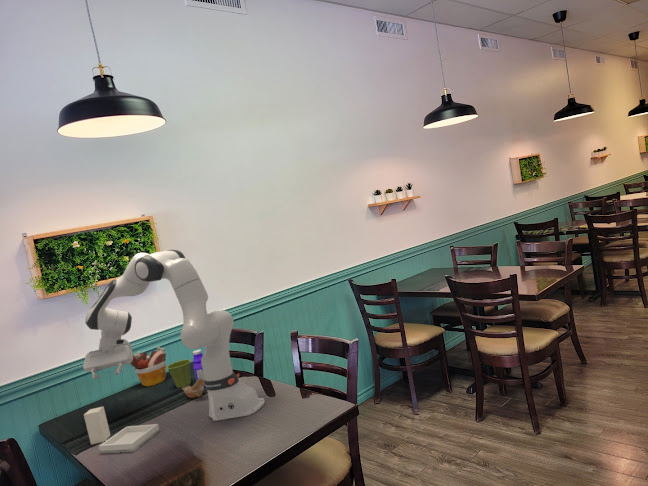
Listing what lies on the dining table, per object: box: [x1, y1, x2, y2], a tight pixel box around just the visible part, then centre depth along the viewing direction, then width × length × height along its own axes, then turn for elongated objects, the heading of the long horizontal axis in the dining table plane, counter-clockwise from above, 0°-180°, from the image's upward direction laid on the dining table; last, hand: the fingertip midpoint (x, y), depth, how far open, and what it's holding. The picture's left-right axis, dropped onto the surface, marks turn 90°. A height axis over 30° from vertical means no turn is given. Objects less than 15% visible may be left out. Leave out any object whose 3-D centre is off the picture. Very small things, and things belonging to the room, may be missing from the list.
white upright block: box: [83, 406, 111, 445], centre depth 191 cm, size 6×6×12 cm
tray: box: [98, 423, 161, 455], centre depth 182 cm, size 15×15×3 cm
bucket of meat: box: [129, 346, 167, 388], centre depth 258 cm, size 20×16×20 cm
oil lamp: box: [181, 378, 205, 399], centre depth 221 cm, size 9×21×10 cm, turn 39°
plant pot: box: [166, 359, 192, 389], centre depth 242 cm, size 12×12×11 cm
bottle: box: [192, 349, 206, 388], centre depth 233 cm, size 7×6×17 cm
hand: (106, 376), depth 205 cm, fingers open, 8 cm apart
